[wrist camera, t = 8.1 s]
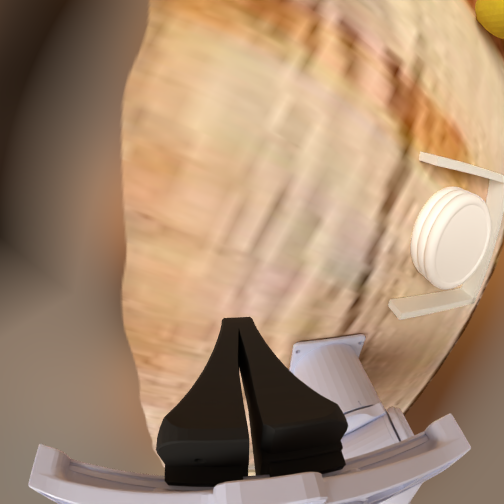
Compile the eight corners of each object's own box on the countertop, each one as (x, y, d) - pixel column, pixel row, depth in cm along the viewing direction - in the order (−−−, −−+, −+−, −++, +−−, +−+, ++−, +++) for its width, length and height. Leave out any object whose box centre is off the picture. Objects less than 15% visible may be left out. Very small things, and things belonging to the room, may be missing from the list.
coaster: (481, 217, 23) (502, 229, 20) (438, 287, 27) (455, 304, 23) (443, 164, 20) (469, 172, 17) (390, 250, 24) (411, 268, 20)
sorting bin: (462, 292, 27) (474, 303, 25) (387, 305, 26) (399, 320, 24) (494, 171, 21) (509, 177, 19) (420, 151, 19) (438, 156, 17)
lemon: (491, 50, 14) (543, 50, 7) (462, 22, 13) (517, 14, 6) (490, 17, 12) (536, 13, 5) (460, -10, 11) (509, -21, 4)
